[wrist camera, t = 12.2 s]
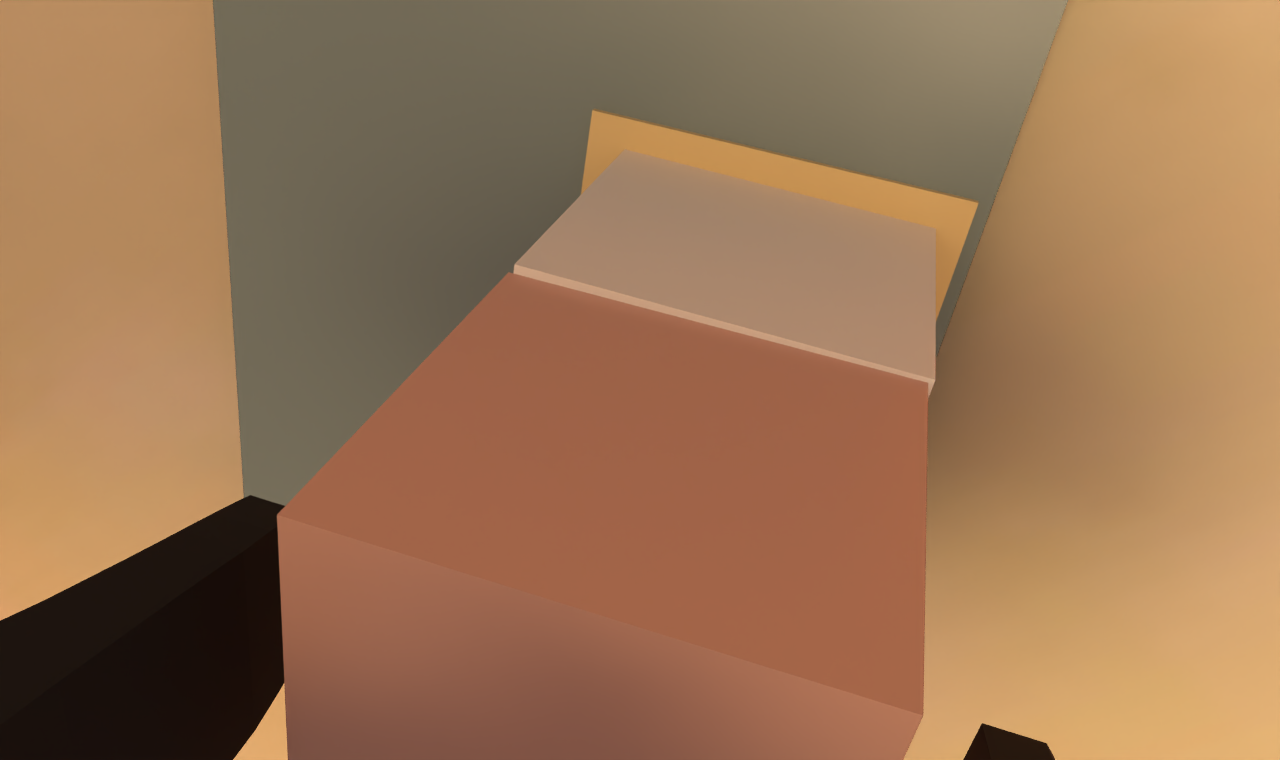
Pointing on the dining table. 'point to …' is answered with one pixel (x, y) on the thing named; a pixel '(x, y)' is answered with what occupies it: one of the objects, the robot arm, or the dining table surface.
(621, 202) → the cream brick
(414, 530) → the terracotta brick
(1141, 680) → the dining table surface
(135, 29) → the dining table surface
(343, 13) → the baseplate
